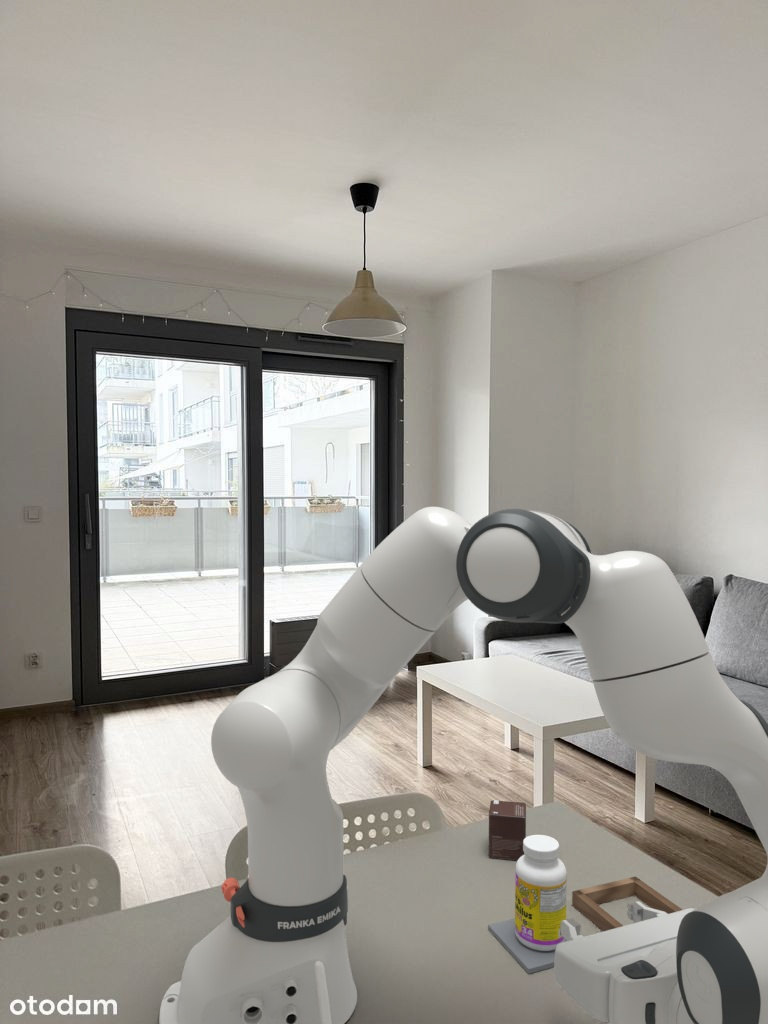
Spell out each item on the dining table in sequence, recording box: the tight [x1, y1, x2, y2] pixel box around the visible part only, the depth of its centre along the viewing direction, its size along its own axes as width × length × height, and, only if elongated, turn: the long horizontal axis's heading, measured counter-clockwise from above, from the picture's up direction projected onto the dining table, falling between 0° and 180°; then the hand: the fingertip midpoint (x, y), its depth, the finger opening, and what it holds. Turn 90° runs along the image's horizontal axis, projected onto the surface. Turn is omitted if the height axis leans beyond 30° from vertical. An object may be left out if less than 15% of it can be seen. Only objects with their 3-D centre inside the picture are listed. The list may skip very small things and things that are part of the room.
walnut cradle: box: [571, 876, 683, 932], centre depth 103 cm, size 11×10×2 cm
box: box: [488, 800, 527, 861], centre depth 121 cm, size 6×6×7 cm
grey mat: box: [487, 917, 567, 975], centre depth 97 cm, size 10×10×1 cm
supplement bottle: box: [514, 834, 568, 951], centre depth 96 cm, size 7×7×13 cm
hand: (599, 916), depth 85 cm, fingers open, 8 cm apart
